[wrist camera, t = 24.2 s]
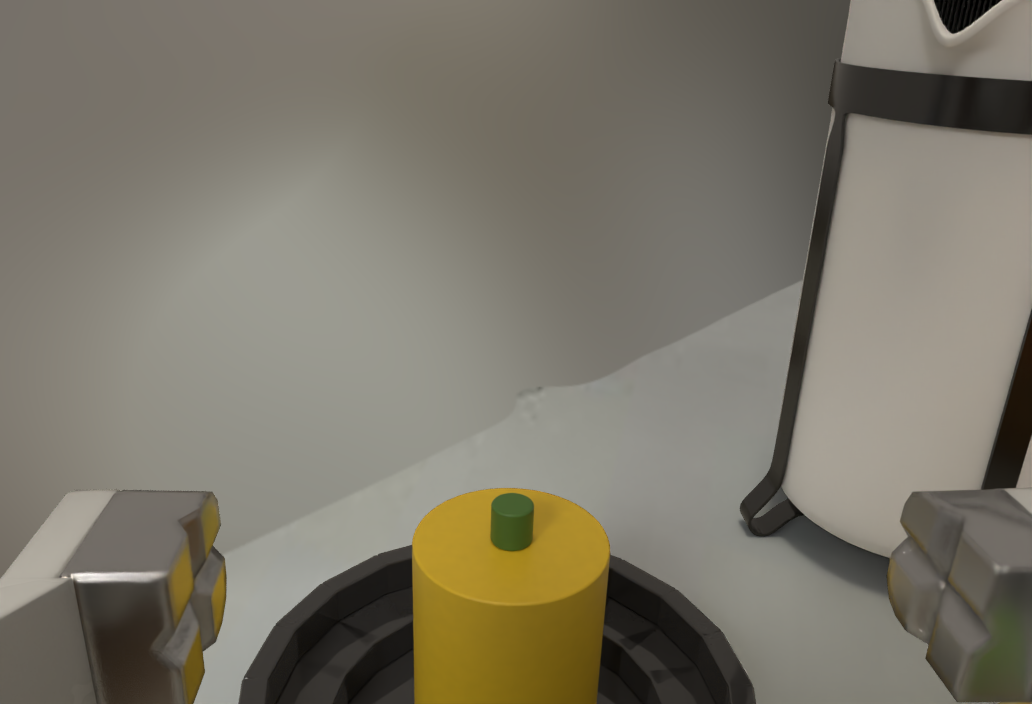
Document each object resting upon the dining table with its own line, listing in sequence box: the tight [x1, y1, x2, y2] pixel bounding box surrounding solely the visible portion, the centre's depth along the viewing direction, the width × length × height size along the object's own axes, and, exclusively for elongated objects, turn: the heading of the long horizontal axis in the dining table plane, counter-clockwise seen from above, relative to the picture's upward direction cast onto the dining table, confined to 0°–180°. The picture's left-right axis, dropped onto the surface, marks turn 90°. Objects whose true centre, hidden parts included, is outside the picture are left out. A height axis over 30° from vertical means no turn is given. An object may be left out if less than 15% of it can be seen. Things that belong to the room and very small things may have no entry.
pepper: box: [412, 488, 610, 704], centre depth 25 cm, size 6×6×9 cm
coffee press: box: [740, 0, 1032, 558], centre depth 36 cm, size 17×16×30 cm
